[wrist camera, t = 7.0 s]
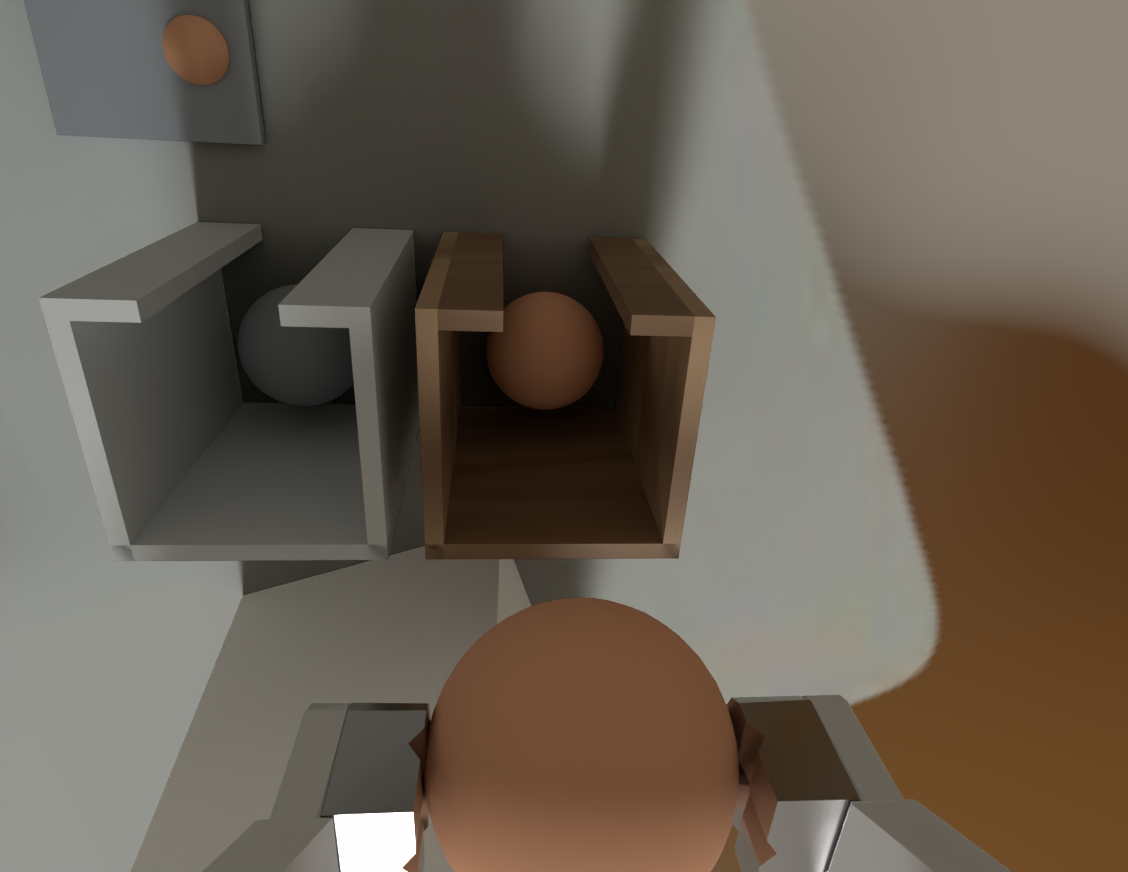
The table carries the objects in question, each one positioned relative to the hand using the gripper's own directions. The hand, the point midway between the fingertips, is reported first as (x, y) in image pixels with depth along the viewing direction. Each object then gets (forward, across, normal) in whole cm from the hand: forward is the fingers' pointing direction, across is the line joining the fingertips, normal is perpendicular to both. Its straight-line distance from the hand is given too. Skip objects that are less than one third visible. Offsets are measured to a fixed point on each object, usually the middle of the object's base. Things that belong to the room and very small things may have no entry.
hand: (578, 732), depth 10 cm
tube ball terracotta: (+18, 0, 0) cm, 18 cm away
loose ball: (+2, 0, 0) cm, 2 cm away
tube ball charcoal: (+18, +8, 0) cm, 20 cm away
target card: (+18, +12, -10) cm, 24 cm away
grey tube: (+18, +8, 0) cm, 20 cm away
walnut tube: (+18, 0, 0) cm, 18 cm away
